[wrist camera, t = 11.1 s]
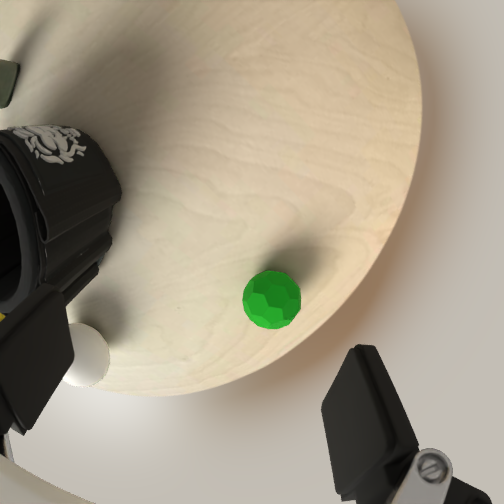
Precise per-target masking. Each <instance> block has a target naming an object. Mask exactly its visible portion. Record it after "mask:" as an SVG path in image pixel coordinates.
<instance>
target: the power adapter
mask: <svg viewBox="0 0 504 504" xmlns="http://www.w3.org/2000/svg"><path fill="white" fill-rule="evenodd" d="M19 70H20V65H19V64H18V63H15V62H11V61H6V60H1V59H0V109H2V108H5V107H7V106H8V105H9V103H10V101H11V98H12V94H13V90H14V87H15V83H16V80H17V77H18V74H19Z"/></svg>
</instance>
